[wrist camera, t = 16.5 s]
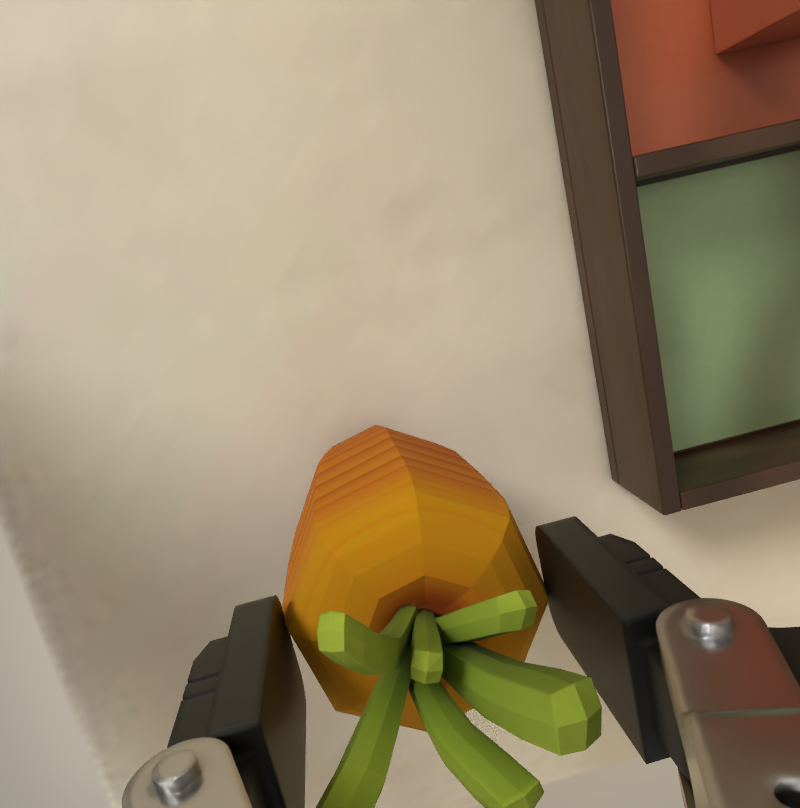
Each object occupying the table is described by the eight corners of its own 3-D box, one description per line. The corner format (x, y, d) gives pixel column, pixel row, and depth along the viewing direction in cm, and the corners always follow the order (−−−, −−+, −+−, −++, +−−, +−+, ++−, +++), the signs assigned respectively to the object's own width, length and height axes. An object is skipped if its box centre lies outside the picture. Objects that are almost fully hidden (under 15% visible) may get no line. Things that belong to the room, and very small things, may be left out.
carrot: (301, 534, 23) (282, 1015, 8) (287, 388, 22) (238, 630, 7) (446, 519, 23) (681, 942, 8) (440, 376, 22) (691, 577, 8)
